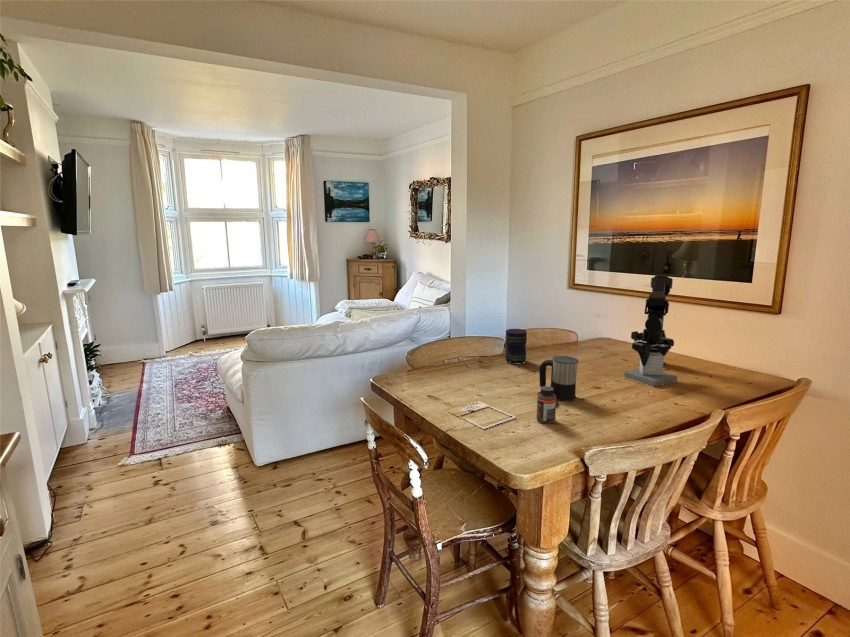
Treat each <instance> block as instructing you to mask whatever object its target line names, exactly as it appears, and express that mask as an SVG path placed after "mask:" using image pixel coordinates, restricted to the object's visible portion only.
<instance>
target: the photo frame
mask: <svg viewBox="0 0 850 637" xmlns="http://www.w3.org/2000/svg"><path fill="white" fill-rule="evenodd" d="M476 402H478V403H481V404H477V405H476V404H475V405H472V406H468V407H465V408H462V409H459V410H460V411H462V412H465V411H468V410H472V409H473V410H478V409H481V408H484V407H487V406H489V407H491V408H493V409H495V410H497V411H499V412H498V413H500V412H502V413H504V414H506V415H505V416H507V415H508V416H507V417H509V416H510V417H509V418H506V419H503V420H501V421H497V422H495V423H492V424H490V425H487V426H482V425H480V424H479V423H478V424H477V423H476V422H474V424H475V425H477V426H479V427H481V428H483V429H486V428H488V429H490V428H489V427H491V428H493V427H492V426H494V427H496V426H495V425H497V424H499V425H501V424H500V423H502V424H504V423H503V422H505V423H507V422H506V421H508V422H510V421H513V420H515V418H516V419H517V417H516V416H515V415H512V414H510V413H507V412H506V411H503V410H501V409H498V408H496V407H493V406H492V405H489V404H486V403H484V402H482V401H480V400H479V401H478V400H477V401H476ZM476 402H474V403H476ZM491 408H490V409H491ZM493 409H492V410H493ZM495 410H494V411H495ZM497 411H496V412H497ZM470 412H471V411H470ZM467 413H468V412H467ZM502 413H501V414H502ZM504 414H503V415H504ZM511 416H512V417H511ZM512 419H513V420H512ZM468 420H469V421H470V422H471V423H473V421H472V420H470V419H468ZM509 420H510V421H509ZM471 423H470V424H471ZM475 425H474V426H475ZM477 426H476V427H477ZM497 426H498V425H497ZM479 427H478V428H479ZM481 428H480V429H481ZM483 429H482V430H483ZM486 430H487V429H486Z"/></svg>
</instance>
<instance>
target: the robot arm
mask: <svg viewBox="0 0 850 637" xmlns="http://www.w3.org/2000/svg"><path fill="white" fill-rule="evenodd" d="M650 279H651V280H650V288H651V289H652V290H651V291H652V292H651V293H649V294H648V297H647V298H646V300H645V308H644V315H647V319H646V320H645V323H644V326H645V328H644V329H643V331H642V332H638V331H631V335H630V339H631V340H632V341H633V342H632V343H631V349H632V350H633V351H635V352H636V353H637V354H638V355H639V360H640V359H641V362H642V365H643V366H646V364H647V361H648V358H649V355H650V353H661V354H662V355H663V356H664V357H665V356H666V355H667V354H668V352H669V351H670V349H672V347H674V346H675V340H674V339H672V338H669V337H667V334H666V333H665V329H664V320H665V316H667V314H669V309H670V303H669V301H668V299H667V297H668V295H669V294H670V293H671V289H673V282H674V281H673V278H671V277H669V276H668V275H665V274H663V275H662V274H657V275H654V277H651V278H650ZM665 364H666V362H664V363H663V365H665Z"/></svg>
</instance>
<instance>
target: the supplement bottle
mask: <svg viewBox="0 0 850 637" xmlns="http://www.w3.org/2000/svg"><path fill="white" fill-rule="evenodd" d="M539 392H540V393H539V394H538V393H537V397H536V398H537V401H536V420H537V421H538V423H541V424H546V425H547V424H553V423H555V421H556V408H557V404H556V400H557V399H556V396H555V394H553V388H552V387H551V386H549V385H546V386H543V387H540V391H539Z"/></svg>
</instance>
